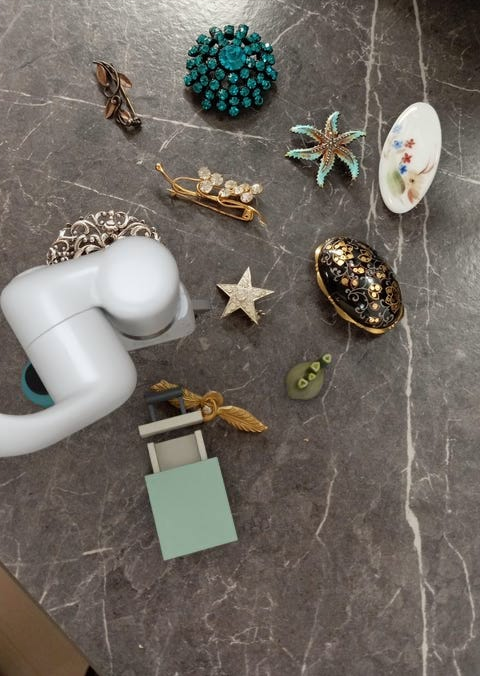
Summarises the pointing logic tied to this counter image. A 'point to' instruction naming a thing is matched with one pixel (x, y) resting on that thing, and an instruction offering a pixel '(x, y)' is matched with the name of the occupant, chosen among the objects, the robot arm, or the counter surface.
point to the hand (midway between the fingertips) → (148, 331)
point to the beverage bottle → (35, 387)
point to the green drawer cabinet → (190, 508)
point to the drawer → (178, 448)
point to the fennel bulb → (306, 378)
